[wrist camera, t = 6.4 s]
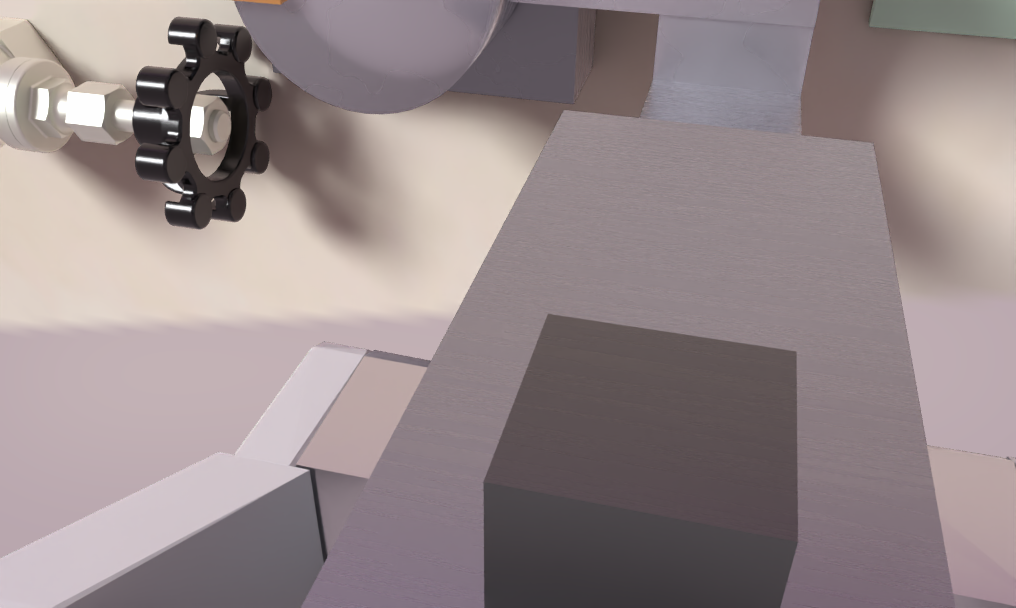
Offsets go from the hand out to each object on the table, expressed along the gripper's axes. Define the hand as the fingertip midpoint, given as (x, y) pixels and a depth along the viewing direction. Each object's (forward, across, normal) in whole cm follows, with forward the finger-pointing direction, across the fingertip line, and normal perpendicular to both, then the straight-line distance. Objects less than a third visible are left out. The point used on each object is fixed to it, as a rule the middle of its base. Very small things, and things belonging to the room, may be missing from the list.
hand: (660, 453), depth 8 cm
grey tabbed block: (+4, 0, 0) cm, 4 cm away
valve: (+21, +21, +6) cm, 30 cm away
